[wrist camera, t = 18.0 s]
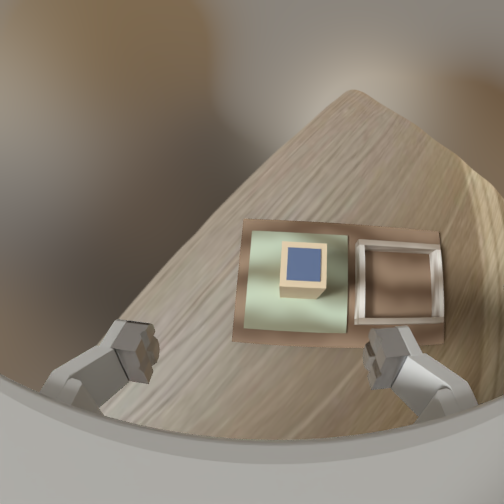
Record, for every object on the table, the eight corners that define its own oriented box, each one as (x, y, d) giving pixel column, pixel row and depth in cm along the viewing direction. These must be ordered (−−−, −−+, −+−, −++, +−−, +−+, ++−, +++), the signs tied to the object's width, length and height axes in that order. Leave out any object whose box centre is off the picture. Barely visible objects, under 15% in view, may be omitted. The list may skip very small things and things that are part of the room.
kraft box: (317, 263, 39) (327, 243, 31) (316, 299, 38) (326, 288, 29) (282, 262, 40) (282, 240, 31) (279, 297, 39) (279, 285, 30)
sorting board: (439, 343, 35) (451, 343, 32) (233, 341, 39) (228, 341, 35) (435, 233, 40) (445, 225, 37) (244, 221, 44) (241, 211, 41)
